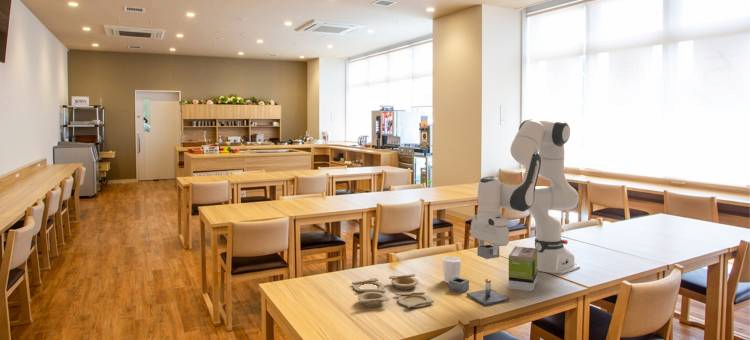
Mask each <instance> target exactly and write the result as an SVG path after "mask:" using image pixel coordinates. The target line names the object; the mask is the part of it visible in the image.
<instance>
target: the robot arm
mask: <svg viewBox="0 0 750 340" xmlns="http://www.w3.org/2000/svg"><path fill="white" fill-rule="evenodd" d="M570 135H571V128H570V126H569V124H568V123H567V122H566V121H564V120H556V119H555V120H554V119H548V118H546V119H526V120H523V121H522V122H521V123H520V125H519V127H518V131H517V133H516V134H515V137H514V139H513V140H512V143H511V144H510V150H509V151H510V154H511V156H512V158H513V159H514V161H516V162H517V163H518V164H520V165H522V166H524V167H525V170H524V174H523V177H522V178H523V179H522V182H521V183H519V184H509V183H504V182H502V181H500V179H499V177H498V176H495V175H493V176H491V175H490V176H484V177H482V178H480V179H479V181H478V185H477V202H478V203H477V204H478V206H477V209H476V210H477V214H474V216H472V220H471V222H470V236H471V237H472V238H475V239H477V241H478V244H479V245H485V242H487V243H488V244H491V245H493V246H494V248H493V250H491V254H493V255H497V250H498V248H499V249H500V247H505V246H507V245H508V244H509V243H510V242H509V241H510V229H509V227H508V226H509V224H510V220H509V219H508V218H507V217H505V216H504V215H503V214H502V213H501V208H504V209H510V210H514V211H518V212H521V213H522V212H526V211H529V213H530V214H531V215H532V217H533V219H534V222H535V238H534V248H537V272H543V273H551V274H560V275H564V274H566V273H570V272H571V271H575V270H578V269H580V268H581V265H579V264H578V263H576V262H575V256H574V254H573V252H571V251H570V250H568V249H567V248H566V247H565V246H564V245H568V243H569V241H568V240H567V239H562V224H561V222H560V220H558V219H557V218H555V217H554V216H551V215H550V214H549V211H565V210H566V211H567V210H571V209H575V208H576V207H577V206H578V204H579V201H580V197H579V196H580V195H579V193H578V191H577V190H576V188H574V187H572V185H570V183H569V182H568V180H567V179H566V178H567V177H566V176H565V146H564V145H565V144H566V143H567V142H568V141H569V139H570ZM539 176H540V177H541V178H543V179H545V180H547V181H549V182H550V185H549V186H547V185H546V186H545V185H542V186H537V182H538V178H539ZM479 245H478V246H479Z"/></svg>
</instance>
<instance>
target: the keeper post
mask: <svg viewBox="0 0 750 340" xmlns="http://www.w3.org/2000/svg"><path fill="white" fill-rule="evenodd" d="M484 280H485V289H481V290H476V291H471V292H466V297H469V298H470V299H472V300H473V301H475V302H477V303H478V304H480V305H482V306H484V307H486V306H492V305H497V304H501V303H507V302H510V301H511V297H508V296H507V295H504V294H502V293H501V292H498V291H497V290H495V289H493V288H492V279H491V278H485V279H484ZM506 301H507V302H506Z"/></svg>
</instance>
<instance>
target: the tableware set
mask: <svg viewBox="0 0 750 340" xmlns="http://www.w3.org/2000/svg"><path fill="white" fill-rule="evenodd" d="M415 277H416V274H415V273H410V274H404V275H389V276H388V279H389V280H390V281H391V282H390V283H391V284H392V285H393V286H396V288H397V289H399V290H403V292H402V291H401V292H395V293H394V294H395V296H397V297H398V296H399V297H398V298H397V302H398V304H400V305H401V306H404V307H406V308H408V309H409V308H423V307H427V306H429V305H431V304H433V303H434V302H435V300H434V299H432V298H431V297H430V295H426V292H425V291H408V292H407V291H406V290H411V289H413V287H415V286H418V284H419V280H418V279H417V278H415ZM364 284H373V285H376V286H377V289H360V288H359V287H360V286H361V285H364ZM351 285H352V287H353V290H355V291H356V292H359V295H358V296H357V299H358V303H360V304H363V305H364V306H366V307H368V308H369V307H370V308H374V307H375V308H376V307H379V306H381V304H382V303H383V302H388V301H390V297H388V296H387V295H386V294H385V293H386V292H387V291H386V290H387V289H385V284H384V283H382V282H379V279H378V278H377V277H373V278H369V279H367V280H359V281H353V282H351ZM404 290H405V291H406V292H404Z"/></svg>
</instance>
